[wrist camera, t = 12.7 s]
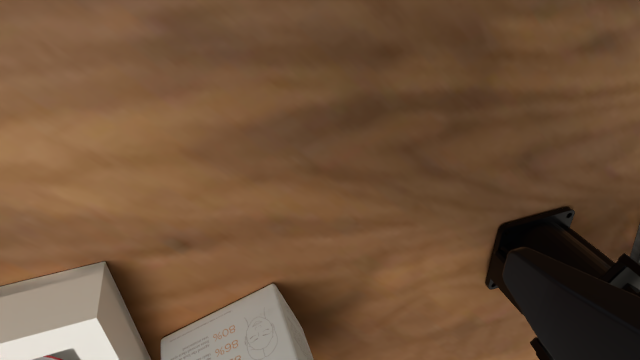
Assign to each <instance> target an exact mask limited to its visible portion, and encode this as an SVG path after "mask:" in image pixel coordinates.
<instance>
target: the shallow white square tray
mask: <svg viewBox="0 0 640 360" xmlns="http://www.w3.org/2000/svg"><path fill="white" fill-rule="evenodd" d="M46 355H51V356H54V357H57V358H60V359H63V360H151V358H150V356H149V354H148V352H147V350H146V348H145V345H144V343H143V341H142V339H141V337H140V335H139V333H138V330H137V328H136V326H135V324H134V322H133V320H132V318H131V316H130V313H129V311H128V309H127V307H126V305H125V303H124V301H123V298H122V296H121V294H120V292H119V290H118V288H117V286H116V284H115V281H114V279H113V277H112V275H111V273H110V271H109V269H108V267H107V264H106V262H105V261H104V262H100V263H96V264H92V265H88V266H84V267H79V268H75V269H71V270H67V271H63V272H59V273H55V274H50V275H46V276H42V277H38V278H34V279H30V280H25V281H21V282H17V283H13V284H9V285H5V286H0V360H32V359H35V358H39V357H43V356H46Z"/></svg>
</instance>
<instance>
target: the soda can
mask: <svg viewBox="0 0 640 360" xmlns="http://www.w3.org/2000/svg"><path fill="white" fill-rule="evenodd" d="M32 360H63V359H60V358H57V357H54V356H51V355H46V356H43V357H39V358H35V359H32Z"/></svg>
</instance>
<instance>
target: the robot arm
mask: <svg viewBox="0 0 640 360" xmlns="http://www.w3.org/2000/svg"><path fill="white" fill-rule="evenodd" d="M574 214H575V212H574V210H572V209H571V208H569V207H566V208H563V209H559V210H555V211H552V212H548V213H545V214H541V215H537V216H534V217H530V218H527V219H523V220H519V221H516V222H512V223H509V224H505V225H503V226H502V227H500V229H499V230H498V234H497V238H496V242H495V246H494V250H493V254H492V258H491V262H490V267H489V271H488V275H487V279H486V283H485V285H486V286H487V287H488V288H489V289H495V288H499V289H500V290H501V291H502V292H503V293H504V294H505V296H506V297H507V298H508V299H509V300H510V301H511V302H512V303H513V305H514V306H515V307H516V308H517V309H518V310H519V311H520V312H521V314H523V315H524V316H525V318H526V319H527V321H528V323H529V324H530V326H531V327H532V329H533V331H534V332H535V334H536V335H537V337H535V338H534V339H533V340H532V341H531V342H530V344H531V345H532V347H533V348H534V350H535V351H536V355H537V356H538V358H539V359H540V360H640V263H638V262H637V261H635V260H634V259H632V258H631V257H629V256H628V255H626V254H625V253H623V254H622V255H621V256H620V257H619V258H618V261H617V262H616V263H614V262H613V261H612V260H610V259H609V258H608V257H607V256H605V255H604V254H603V253H602V252H600V251H599V250H598V249H596V248H595V247H594V246H593V245H591V244H590V243H589V242H587V241H586V240H585V239H584V238H582V237H581V236H580V235H579V234H577V233H576V232H575V231H573V230H572V229H571V228H570V225H571V222H572V219H573V217H574Z"/></svg>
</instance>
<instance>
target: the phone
mask: <svg viewBox="0 0 640 360" xmlns="http://www.w3.org/2000/svg"><path fill="white" fill-rule="evenodd" d="M630 257H631V258H632V259H634V260H635V261H637V262H638V263H640V224H639V227H638V231H637V234H636V238H635V242H634V245H633V249H632V252H631V256H630Z"/></svg>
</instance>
